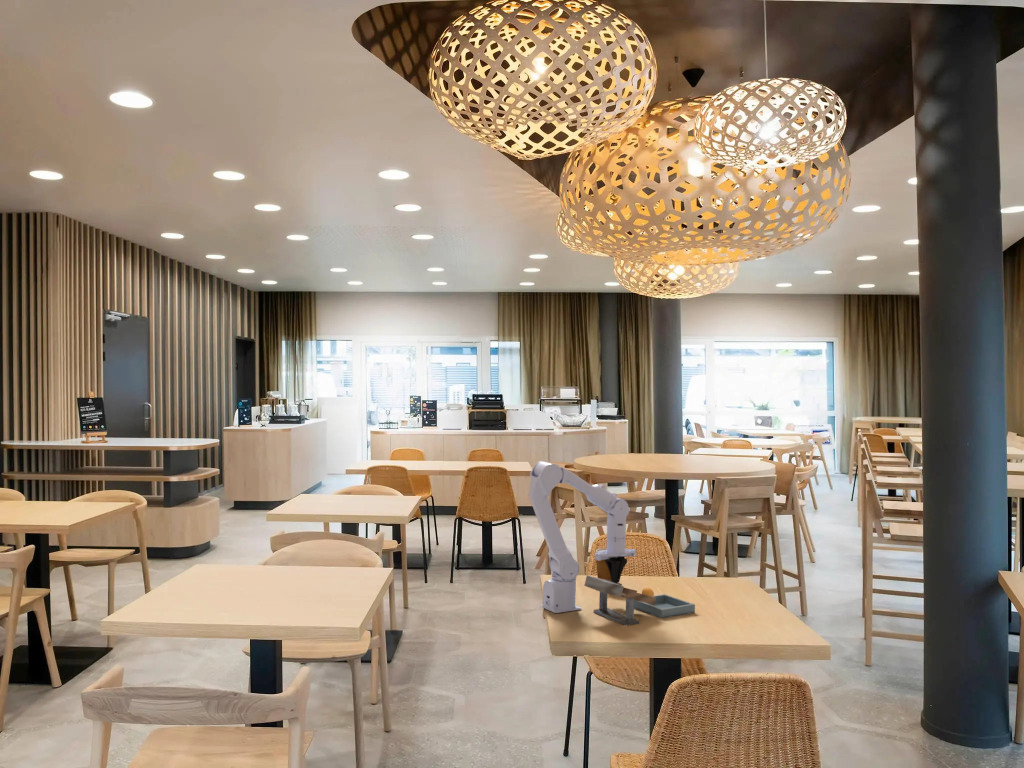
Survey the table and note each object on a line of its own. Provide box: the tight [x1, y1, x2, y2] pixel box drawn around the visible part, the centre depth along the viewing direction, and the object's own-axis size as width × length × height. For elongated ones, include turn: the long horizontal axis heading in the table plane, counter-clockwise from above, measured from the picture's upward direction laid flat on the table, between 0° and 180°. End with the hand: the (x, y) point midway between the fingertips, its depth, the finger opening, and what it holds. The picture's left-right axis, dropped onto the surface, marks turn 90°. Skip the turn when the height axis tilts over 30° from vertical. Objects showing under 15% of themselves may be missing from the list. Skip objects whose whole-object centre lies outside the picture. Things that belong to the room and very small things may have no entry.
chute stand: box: [593, 591, 640, 626], centre depth 225 cm, size 5×15×7 cm, turn 31°
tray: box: [634, 593, 696, 619], centre depth 235 cm, size 13×13×2 cm
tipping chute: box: [583, 575, 656, 605], centre depth 230 cm, size 20×17×3 cm
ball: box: [641, 587, 655, 596], centre depth 232 cm, size 4×4×4 cm
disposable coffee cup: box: [594, 548, 619, 583], centre depth 261 cm, size 10×10×12 cm
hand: (615, 581), depth 239 cm, fingers closed
